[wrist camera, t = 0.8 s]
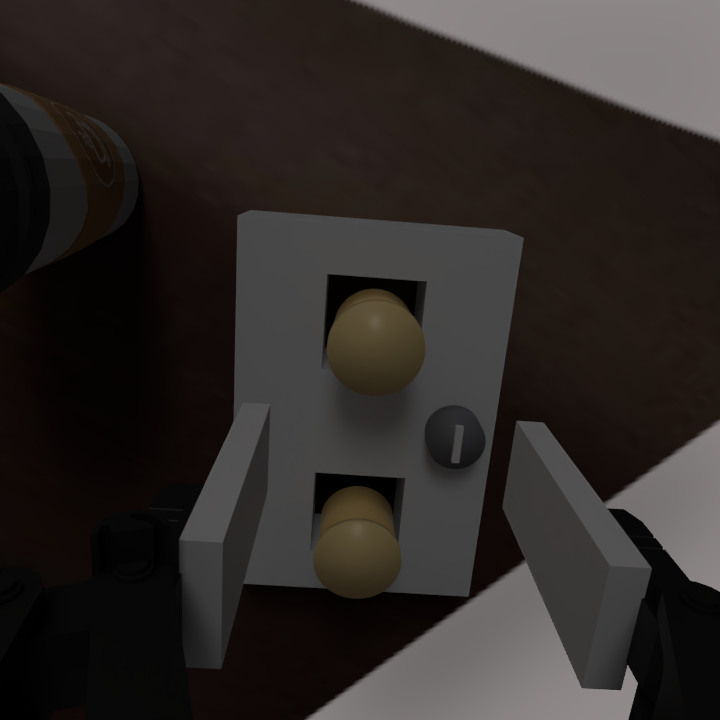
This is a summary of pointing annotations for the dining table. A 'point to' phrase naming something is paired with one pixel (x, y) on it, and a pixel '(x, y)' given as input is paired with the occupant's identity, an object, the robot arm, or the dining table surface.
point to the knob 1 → (375, 343)
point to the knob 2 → (357, 544)
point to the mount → (374, 413)
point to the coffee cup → (57, 182)
